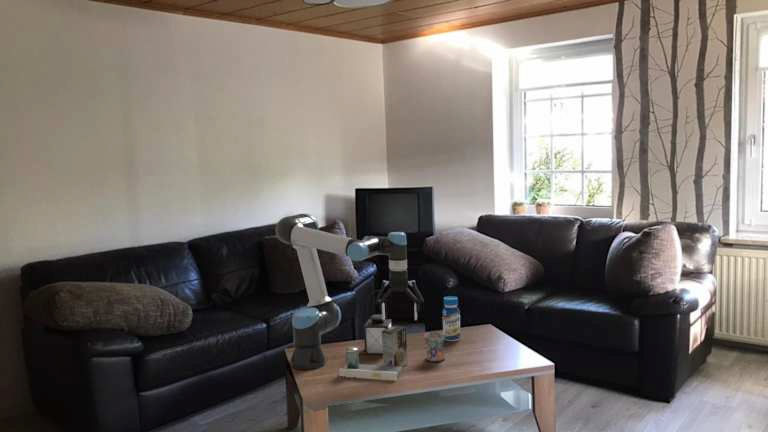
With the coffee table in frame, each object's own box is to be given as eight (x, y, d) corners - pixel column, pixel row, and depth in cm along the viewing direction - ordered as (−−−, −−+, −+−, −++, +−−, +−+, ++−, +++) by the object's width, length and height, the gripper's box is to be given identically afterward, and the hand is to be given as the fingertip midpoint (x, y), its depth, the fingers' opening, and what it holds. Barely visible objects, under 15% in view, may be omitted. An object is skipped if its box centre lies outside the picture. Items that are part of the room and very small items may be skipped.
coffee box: (396, 361, 263) (394, 325, 261) (408, 364, 259) (406, 327, 257) (382, 367, 256) (381, 330, 254) (394, 370, 252) (393, 332, 250)
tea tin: (344, 369, 250) (343, 350, 249) (349, 365, 255) (348, 346, 254) (356, 370, 249) (355, 351, 248) (361, 366, 254) (360, 347, 253)
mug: (448, 362, 260) (447, 337, 258) (426, 363, 259) (425, 339, 257) (442, 353, 271) (441, 329, 270) (421, 354, 270) (420, 331, 269)
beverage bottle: (459, 335, 295) (458, 295, 293) (462, 341, 287) (460, 299, 285) (442, 336, 295) (440, 296, 293) (444, 342, 287) (442, 300, 285)
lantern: (393, 347, 283) (390, 287, 280) (389, 355, 272) (386, 293, 269) (369, 347, 284) (366, 288, 282) (364, 355, 273) (361, 293, 271)
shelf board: (339, 376, 248) (339, 368, 248) (348, 368, 258) (347, 360, 257) (396, 380, 241) (395, 373, 240) (402, 371, 250) (402, 364, 250)
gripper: (367, 271, 252) (369, 321, 255) (427, 271, 249) (429, 321, 251) (369, 267, 260) (371, 316, 262) (428, 267, 257) (429, 316, 259)
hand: (399, 319), depth 257 cm, fingers open, 13 cm apart
